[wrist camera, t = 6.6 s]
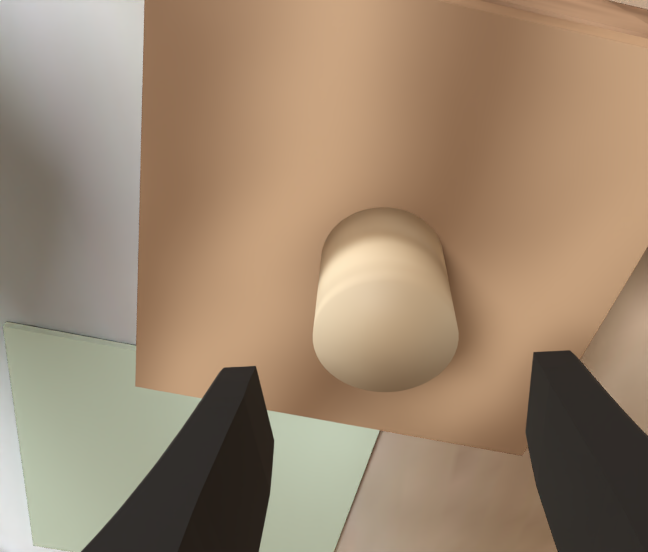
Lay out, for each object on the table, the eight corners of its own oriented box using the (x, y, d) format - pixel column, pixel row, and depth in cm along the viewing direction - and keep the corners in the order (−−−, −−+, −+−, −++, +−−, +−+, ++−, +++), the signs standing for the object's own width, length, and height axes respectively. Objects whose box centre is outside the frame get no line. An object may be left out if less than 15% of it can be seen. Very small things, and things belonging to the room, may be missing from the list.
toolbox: (185, 275, 23) (150, 357, 19) (215, -93, 16) (169, -77, 12) (493, 335, 23) (517, 425, 20) (649, 9, 17) (730, 53, 13)
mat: (35, 540, 34) (33, 545, 33) (6, 321, 24) (2, 326, 24) (319, 586, 35) (318, 591, 34) (391, 393, 25) (391, 398, 25)
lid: (147, 359, 19) (98, 470, 16) (163, -73, 12) (83, -45, 9) (514, 426, 20) (545, 546, 16) (722, 55, 13) (853, 128, 10)
